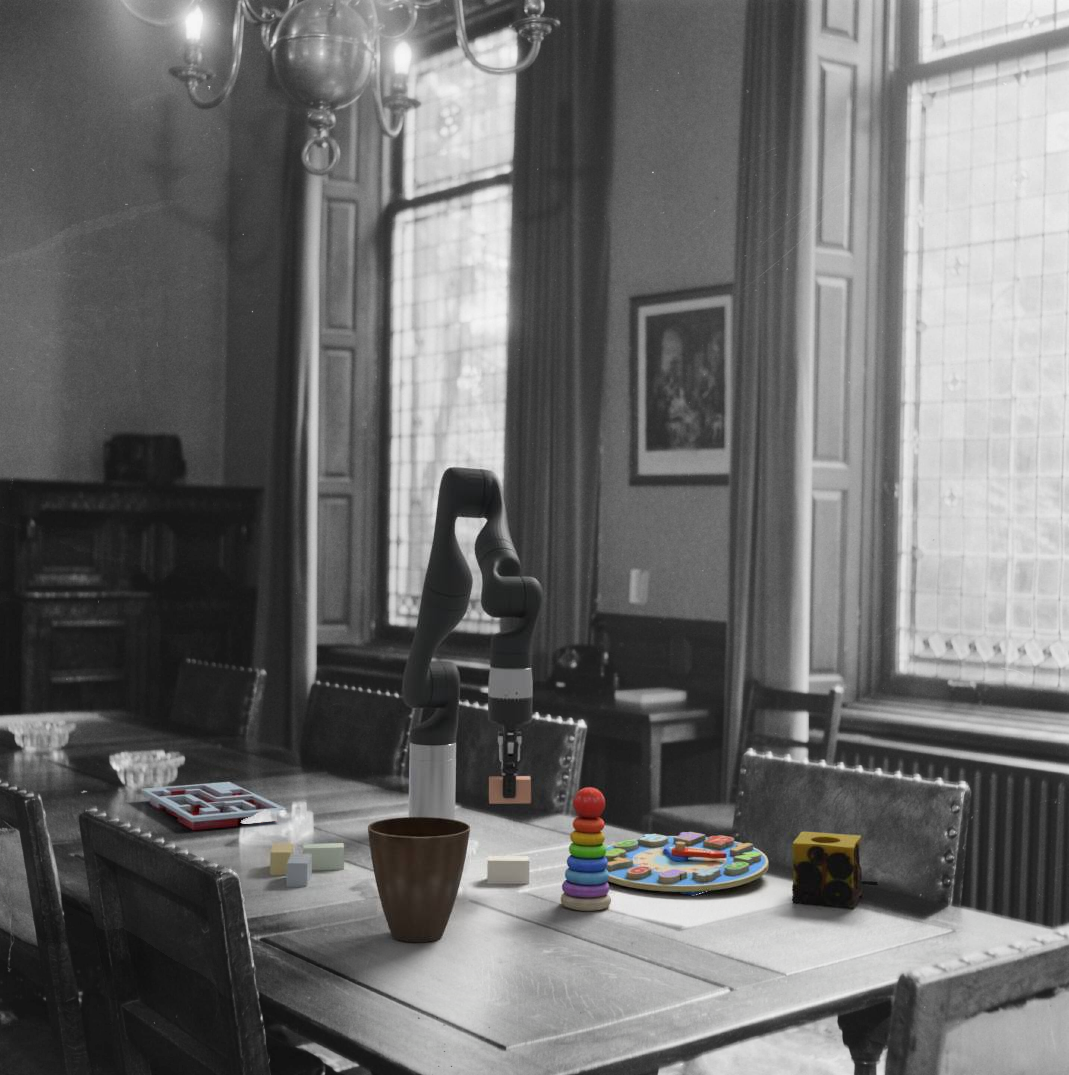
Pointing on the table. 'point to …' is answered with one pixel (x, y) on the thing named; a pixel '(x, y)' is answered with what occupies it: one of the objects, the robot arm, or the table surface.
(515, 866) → the brick cream
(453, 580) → the robot arm
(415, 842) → the plant pot
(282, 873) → the brick ochre
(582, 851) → the stacking toy
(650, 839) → the shape sorting clock
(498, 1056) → the table surface
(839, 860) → the yellow gear box toy
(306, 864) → the brick slate
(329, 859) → the brick sage
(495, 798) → the brick terracotta
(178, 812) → the maze game
